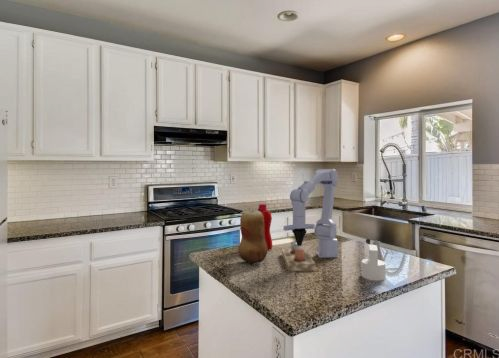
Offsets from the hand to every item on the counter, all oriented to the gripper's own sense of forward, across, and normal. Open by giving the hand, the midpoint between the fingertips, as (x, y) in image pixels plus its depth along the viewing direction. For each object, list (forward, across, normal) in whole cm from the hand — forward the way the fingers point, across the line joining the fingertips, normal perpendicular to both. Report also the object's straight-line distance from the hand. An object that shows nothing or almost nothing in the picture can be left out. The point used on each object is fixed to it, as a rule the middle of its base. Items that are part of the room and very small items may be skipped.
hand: (299, 245), depth 138 cm
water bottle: (+10, +8, -33) cm, 35 cm away
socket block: (+10, -2, -6) cm, 11 cm away
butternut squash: (+10, +19, -10) cm, 24 cm away
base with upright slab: (+10, -23, +21) cm, 33 cm away
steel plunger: (+6, -3, -12) cm, 14 cm away
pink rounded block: (+6, 0, 0) cm, 6 cm away
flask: (+10, -37, +6) cm, 39 cm away
